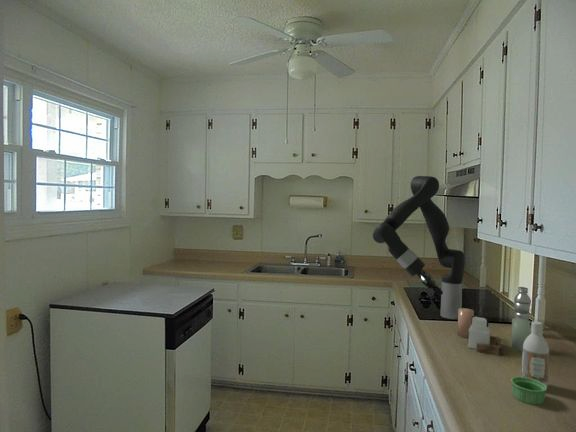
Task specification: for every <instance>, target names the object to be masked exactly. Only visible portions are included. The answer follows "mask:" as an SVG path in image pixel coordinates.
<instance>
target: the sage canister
mask: <svg viewBox="0 0 576 432" xmlns="http://www.w3.org/2000/svg"><path fill="white" fill-rule="evenodd" d="M530 334H531V321H530V320H529V321H528V320H526V319H521V318H515V317H513V318H512V319H511V337H510V338H511V339H510V347H511V348H512V349H513V350H516V351H521V352H523V344H524V341H525V339H526V338H527V337H528V336H529V335H530Z"/></svg>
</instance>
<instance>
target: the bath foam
mask: <svg viewBox="0 0 576 432" xmlns="http://www.w3.org/2000/svg"><path fill="white" fill-rule="evenodd" d="M543 327H544V324H543V323H542V322H540V321H535V320H534V321H531V323H530V334H529V336H528V337H527V338H526V339H525V341H524V344H523V351H522V358H521V359H522V360H521V362H522V363H521V377H526V378H531V379H534V380H537V381H539V382H541V383H543V384H544V385H545V386H546V387H547V388H548V382H549V367H550V365H549V362H550V348H549V344H548V342H547V340H546V339H545V338H544V337H545V336H544V335H543Z"/></svg>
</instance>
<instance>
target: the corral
mask: <svg viewBox="0 0 576 432" xmlns="http://www.w3.org/2000/svg"><path fill="white" fill-rule="evenodd" d="M503 349H504V347H503V345H502V343H501V340H500V337H499V335H498V336H497V335H492V334H490V345H487V344H480V343H477V349H476V352H477V353H482V354H483V353H484V354H490V355H496V356H501V357H502V356H503V354H504V353H503V352H504V351H503Z"/></svg>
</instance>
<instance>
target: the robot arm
mask: <svg viewBox="0 0 576 432" xmlns="http://www.w3.org/2000/svg"><path fill="white" fill-rule="evenodd" d="M410 189H411V193H412V196H411V197H409V198H408V199H406V200H404V201H402V202H401V203H399V204H398V205H396V206H395V207H394V208H393V209H392V210H391V211H390V213H389V214H388V215H387V216H386V217H385V219H384V220H383V221H382V222H381V223H380V224H378V225H377V226H376V227H375V229H374V230H373V232H372V239H373V241H375V242H376V244H377V243H378V244H385V245H386V246H387V247H388V252H389V254H390V255H392V257H393V258H394V259H395V260H396V261H397V263H398V264H399V265H400V266H401V267H402V268H403V269H404V270H405V271H406V273H407V274H408V275H409V276H410V277H415V276H417V277H418V280H419V281H420V282H421V283H422V284H423V285H424V286H426V287H427V288H428V289H429V290H431V291H433V292H434V293H435V294H436V295H437V296H438V297H440V317H442V318H445V319H447V320H458V309H459V308H463V307H462V304H463V303H462V302H463V299H462V298H463V297H462V293H463V292H462V291H463V290H462V288H463V278H464V273H465V272H464V271H465V262H466V259H465V254H464V252H463V251H462V250H458V249H451V248H449V247H448V246H447V243H446V240H447V237H448V235H449V231H450V225H449V222H448V219H447V217H446V215H445V213H444V212H443V210H442V209H440V208H439V206H438V205H437V204H436V203H435V202H434V201H433V200H432V198H434V196H435V195H436V194H437V193H438V191H439V189H440V182H439V180H438V179H437V178H436V177H435V176H430V175H429V176H428V175H417V176H414V177H413V178H412V179H411V181H410ZM419 208H420V211H421V213H422V216H423V219H424V221H425V224H426V226H427V228H428V231H429V234H430V236H431V239H432V242H433V245H434V248H435V251H436V256H437V260H438V262H439V264H440V265H441V266H442V267H443V268H448V269H451V271H450V272H449V273H448V274H443V275H442V276H441V287H439V286H438V285H437V283H436V281H435V280H434V278H433V277H432V275H430V273H429V271H427V270H424V269H423V268H425V266H426V264H425V262H424V261H423V260H421V258H420V257H419V256H418V255H417V254H416V253H415V252H414V251H413V250H412V249H410V248H409V246H407V245H406V244H405V242H403V241H402V239H401V237H400V236H399V234H398V233H397V231H396V230H397V229H399V228H400V227H401V226H402V225H403V224H404V223H405V222H406V221H407V219H408V218H410V216H412V214H413V213H414V212H416V211H417V210H418V209H419Z"/></svg>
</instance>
